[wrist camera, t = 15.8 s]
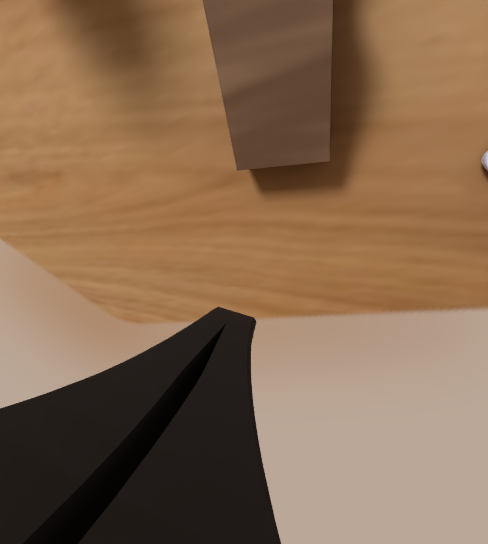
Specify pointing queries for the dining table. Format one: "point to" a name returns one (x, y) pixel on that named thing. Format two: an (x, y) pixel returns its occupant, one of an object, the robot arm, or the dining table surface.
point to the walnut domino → (274, 78)
